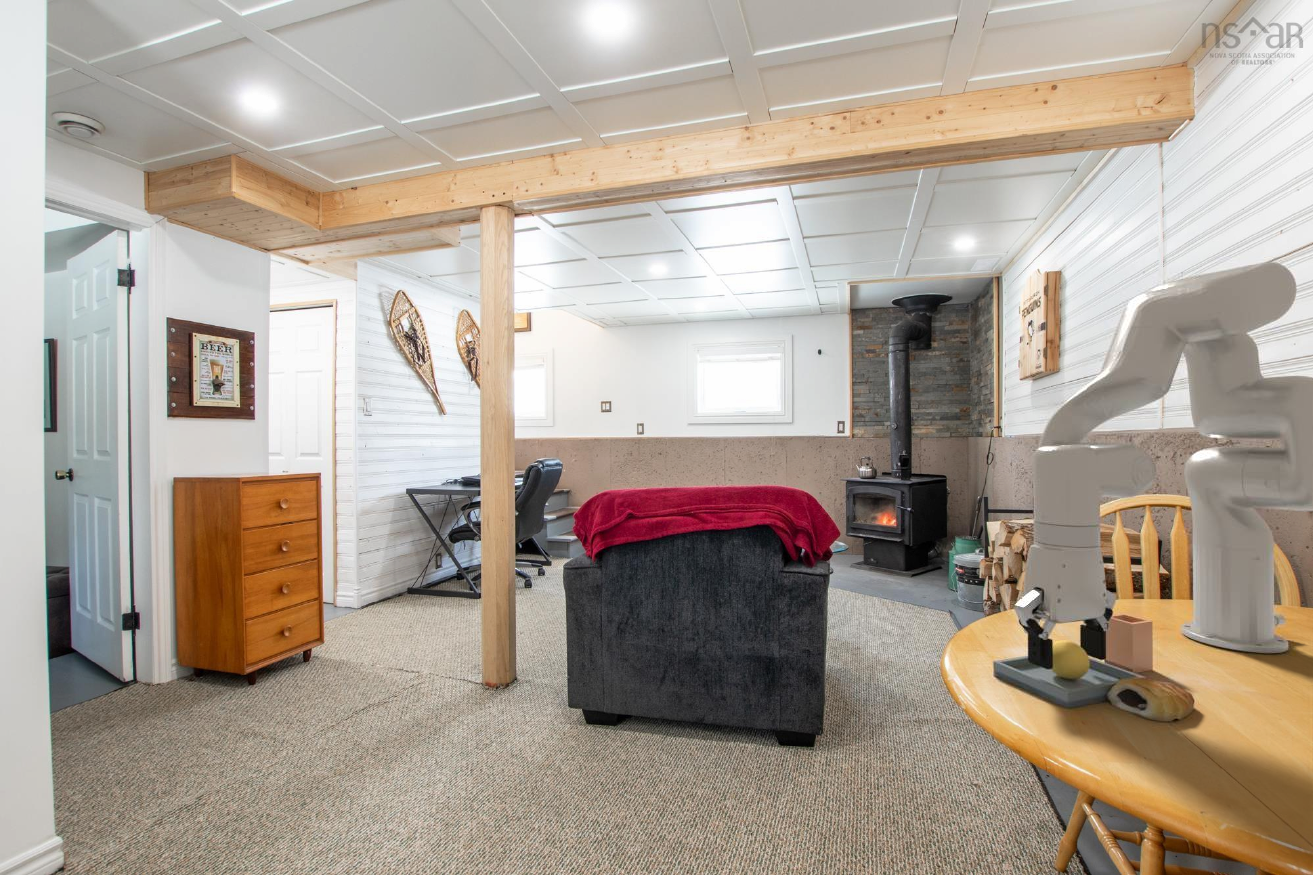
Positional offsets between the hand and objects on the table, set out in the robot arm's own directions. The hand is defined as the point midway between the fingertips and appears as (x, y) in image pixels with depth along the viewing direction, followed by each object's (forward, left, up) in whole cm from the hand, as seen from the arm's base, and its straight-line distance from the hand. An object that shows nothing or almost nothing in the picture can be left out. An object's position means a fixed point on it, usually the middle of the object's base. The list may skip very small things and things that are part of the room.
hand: (1067, 661), depth 82 cm
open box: (-14, -1, -3) cm, 14 cm away
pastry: (-3, +9, -4) cm, 10 cm away
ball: (0, 0, 0) cm, 0 cm away
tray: (0, 0, -3) cm, 3 cm away
